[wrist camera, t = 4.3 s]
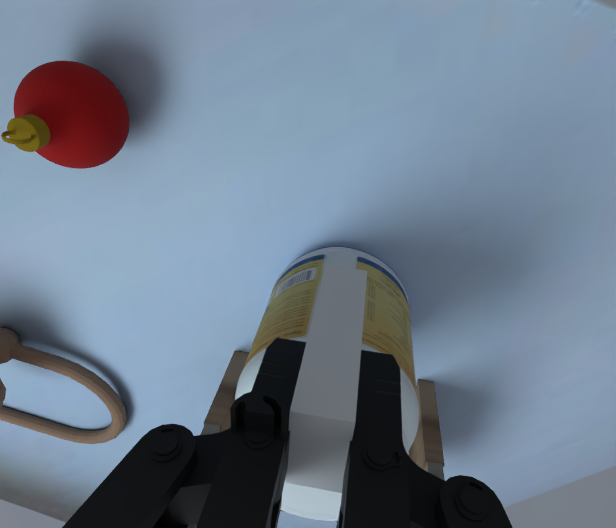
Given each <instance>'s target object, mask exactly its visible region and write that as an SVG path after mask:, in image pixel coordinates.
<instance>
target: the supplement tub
mask: <svg viewBox="0 0 616 528" xmlns="http://www.w3.org/2000/svg"><path fill="white" fill-rule="evenodd" d="M325 265H329V266H336V267H343V268H350V269H358V270H365V271H367V283H366V295H365V308H364V320H363V333H362V345H361V350H366V351H372V352H378V353H385V354H391V355H393V356H394V358H395V360H396V361H397V363H398V365H399V367H400V377H401V383H400V385H401V409H402V439H403V445H404V448H405V450H406V452H407V454H408V455H409V449H410V447H411V446H412V444H413V442H414V439H415V437H416V433H417V429H418V422H419V404H418V399H417V390H416V380H415V369H414V358H413V346H412V335H411V323H410V308H409V300H408V296H407V293H406V291H405V289H404V287H403V285H402V283H401V281H400V280H399V278H398V277H397V276H396V275H395V273H394V272H393V271H392V270H391V269H390V268H389V267H388V266H387V265H385V264H384V263H383V262H381V261H380V260H379V259H377V258H375V257H374V256H371V255H369V254H367V253H365V252H362V251H359V250H355V249H351V248H345V247H328V248H322V249H318V250H315V251H312V252H309V253H307V254H305V255H303V256H301V257H300V258H298V259H296V260H295V261H294V262H292V263H291V264H290V265H289V266H288V267H287V268H286V269H285V270H284V271H283V272H282V273H281V275H280V276H279V278H278V279H277V281H276V283H275V285H274V287H273V290H272V294H271V297H270V299H269V302H268V305H267V307H266V310H265V313H264V315H263V318H262V321H261V323H260V326H259V329H258V331H257V334H256V337H255V339H254V342H253V345H252V347H251V350H250V352H249V355H248V358H247V360H246V363H245V366H244V368H243V371H242V373H241V375H240V377H239V380H238V384H237V389H236V395H235V400H236V399H237V398H239V397H240V396H242V395H243V394H245V393H249V392H251V391H252V388H253V385H254V382H255V379H256V376H257V374H258V371H259V368H260V365H261V363H262V359H263V357H264V354H265V351H266V348H267V347H268V346H269V345H270V344H271V343H272V342H273V341H274V340H275V339H276V338H283V339H289V340H296V341H302V342H307V338H308V334H309V330H310V326H311V322H312V318H313V313H314V309H315V305H316V301H317V297H318V293H319V289H320V285H321V280H322V276H323V272H324V268H325ZM341 498H342V493H338V492H333V491H327V490H322V489H317V488H312V487H306V486H301V485H296V484H291V483H286V482H284V487H283V492H282V503H281V509H280V510H282V511H285V512H287V513H290V514H294V515H297V516H301V517H306V518H310V519H316V520H326V521H338V517H339V511H340V506H341Z"/></svg>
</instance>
